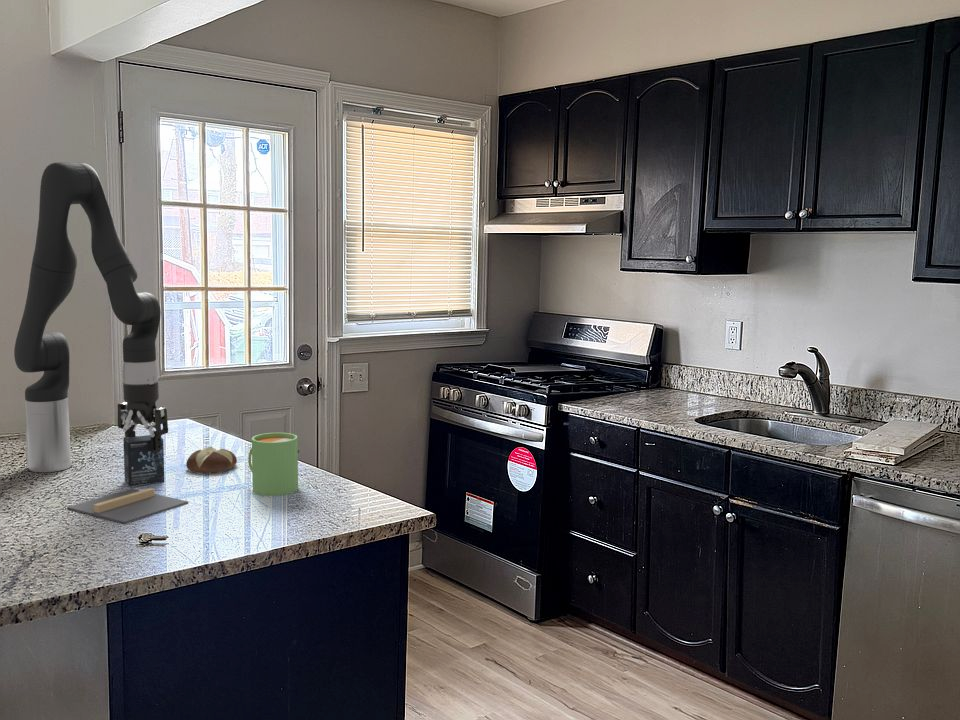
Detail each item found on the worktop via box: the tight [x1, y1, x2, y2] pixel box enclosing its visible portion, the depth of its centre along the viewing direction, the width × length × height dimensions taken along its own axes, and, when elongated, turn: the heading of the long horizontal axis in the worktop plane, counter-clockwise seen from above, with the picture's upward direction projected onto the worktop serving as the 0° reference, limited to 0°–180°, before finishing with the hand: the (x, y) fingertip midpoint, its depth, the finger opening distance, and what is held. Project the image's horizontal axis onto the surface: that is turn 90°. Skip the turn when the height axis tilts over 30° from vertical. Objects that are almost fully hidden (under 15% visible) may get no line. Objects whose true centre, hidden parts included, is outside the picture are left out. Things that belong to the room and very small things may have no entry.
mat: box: [66, 487, 189, 525], centre depth 183 cm, size 18×16×2 cm
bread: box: [186, 446, 238, 474], centre depth 213 cm, size 11×11×5 cm
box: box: [122, 434, 165, 488], centre depth 200 cm, size 8×6×11 cm
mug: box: [247, 432, 300, 497], centre depth 197 cm, size 13×10×12 cm
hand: (143, 449), depth 199 cm, fingers open, 8 cm apart
